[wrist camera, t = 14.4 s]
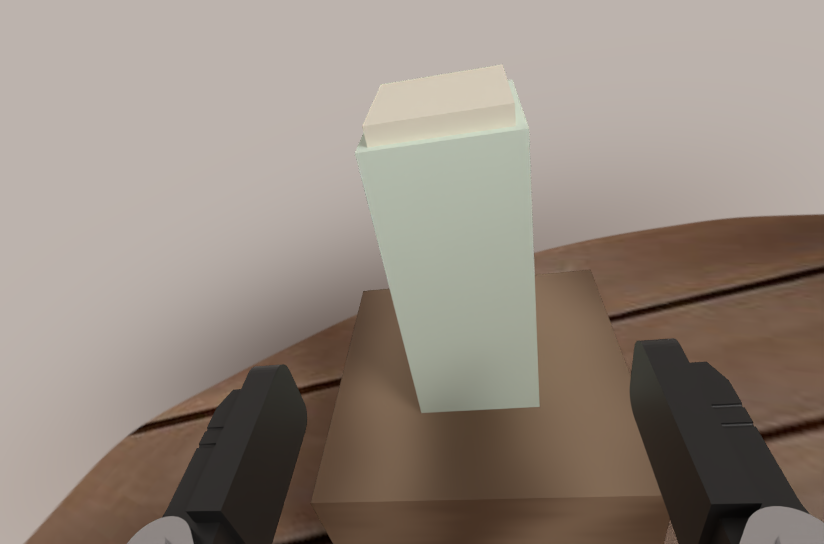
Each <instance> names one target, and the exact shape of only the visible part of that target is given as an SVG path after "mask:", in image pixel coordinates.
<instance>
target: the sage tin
mask: <svg viewBox="0 0 824 544" xmlns="http://www.w3.org/2000/svg"><path fill="white" fill-rule="evenodd" d="M362 127H363V132H364V133H363V136H362V138H361V140H360V143H359V145H358V147H357V150H356V152H355V155H356V160H357V163H358V167H359V171H360V175H361V179H362V183H363V187H364V191H365V195H366V198H367V202H368V206H369V210H370V214H371V218H372V222H373V226H374V229H375V233H376V238H377V242H378V245H379V249H380V253H381V257H382V261H383V265H384V269H385V272H386V276H387V281H388V284H389V288H390V292H391V296H392V300H393V304H394V308H395V312H396V316H397V320H398V324H399V327H400V331H401V335H402V339H403V343H404V347H405V351H406V355H407V359H408V363H409V366H410V370H411V374H412V378H413V382H414V386H415V390H416V394H417V398H418V402H419V405H420V409H421V413H431V412H450V411H470V410H489V409H508V408H527V407H540V405H539V379H538V352H537V325H536V298H535V272H534V246H533V221H532V220H533V219H532V194H531V193H532V192H531V165H530V139H529V127H528V124H527V121H526V118H525V115H524V112H523V109H522V106H521V104H520V100H519V98H518V95H517V92H516V89H515V86H514V83H513V80H507V77H506V74H505V70H504V67H503V65H502V64H501V65H495V66H489V67H483V68H477V69H471V70H465V71H460V72H453V73H447V74H441V75H436V76H429V77H423V78H417V79H411V80H405V81H399V82H392V83H387V84H381V85H380V88H379V90H378V92H377V94H376V97H375V99H374V101H373V103H372V105H371V108H370V110H369V112H368V114H367V117H366V119H365V121H364V123H363V126H362Z"/></svg>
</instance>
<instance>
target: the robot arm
mask: <svg viewBox="0 0 824 544" xmlns="http://www.w3.org/2000/svg"><path fill="white" fill-rule="evenodd" d="M630 402H631V407H632V412H633V415H634V418H635V421H636V424H637V427H638V430H639V432H640V435H641V438H642V441H643V444H644V447H645V449H646V452H647V455H648V458H649V461H650V463H651V466H652V469H653V472H654V475H655V478H656V480H657V483H658V486H659V489H660V492H661V495H662V497H663V500H664V503H665V506H666V509H667V512H668V514H669V517H670V520H671V523H672V526H673V529H674V531H675V534H676V537H677V540H678V543H679V544H824V523H823V522H822V521H820V520H819V519H817V518H815V517H813V516H812V515H810V514H809V513H808V511H807V510H806V509H805V508H804V507H803V505H802V504H801V502H800V501H799V499H798V498H797V496H796V495H795V493H794V491H793V489H792V488H791V486H790V484H789V483H788V481H787V479H786V477H785V476H784V474H783V472H782V471H781V469H780V467H779V465H778V464H777V462H776V460H775V459H774V457H773V455H772V454H771V452H770V450H769V448H768V447H767V445H766V443H765V442H764V440H763V438H762V436H761V435H760V433H759V431H758V430H757V428H756V427H754V426H753V421H752V419H751V418H750V416H749V414H748V413H747V411H746V409H745V408H743V407H742V402H741V401H740V399H739V397H738V395H737V394H736V392H735V390H734V389H733V387H732V385H731V383H730V382H729V380H728V379H726V378H725V377H724V376H723V375H722V374H720V373H719V372H718V371H717V370H716V369H715V368H713V367H712V366H711V365H710V364H709V363H707V362H694V363H689V361H688V359H687V357H686V355H685V353H684V351H683V349H682V348H681V346H680V344H679V342H678V341H677V340H676V339H674V338H673V339H658V340H644V341H637V342H636V343H635V347H634V355H633V363H632V372H631V380H630ZM306 425H307V411H306V406H305V403H304V401H303V399H302V397H301V394H300V392H299V390H298V388H297V386H296V384H295V381H294V379H293V377H292V375H291V373H290V371H289V369H288V367H287V366H286V365H270V366H256V367H253V368H252V369H251V370H250V371H249V373H248V375H247V378H246V380H245V382H244V384H243V386H242V388H241V389H238V390H233V391H232V392H231V393H230V394H229V395H228V396H227V397H226V398H225V399H224V400H223V402H222V403H221V404H220V405H219V406H218V407H217V408H216V410H215V412H214V415H213V417H212V419H211V421H210V423H209V425H208V427H207V431H206V432H205V433H204V435H203V437H202V439H201V441H200V443H199V448H197V449H196V451H195V453H194V455H193V457H192V459H191V461H190V463H189V465H188V468H187V470H186V472H185V474H184V476H183V478H182V480H181V482H180V484H179V486H178V488H177V490H176V492H175V494H174V496H173V498H172V500H171V502H170V504H169V506H168V508H167V510H166V512H165V514H164V515H163V517H162V518H160V519H157V520H155V521H153V522H151V523H149V524H148V525H146V526H145V527H143V528H142V529H141V530H140V531H138V532H137V533H136V534H135V535H134V536H133V537H132V538H131V539H130V541H129V542H128V543H127V544H272V542H273V539H274V535H275V532H276V528H277V525H278V522H279V518H280V515H281V512H282V508H283V505H284V501H285V498H286V495H287V491H288V488H289V485H290V481H291V478H292V474H293V471H294V468H295V464H296V461H297V458H298V454H299V451H300V447H301V444H302V441H303V437H304V434H305V430H306Z"/></svg>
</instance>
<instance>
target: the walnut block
mask: <svg viewBox="0 0 824 544" xmlns="http://www.w3.org/2000/svg"><path fill="white" fill-rule="evenodd" d="M535 298H536V325H537V352H538V379H539V405H540V407H527V408H508V409H489V410H470V411H450V412H431V413H421V409H420V405H419V402H418V398H417V394H416V390H415V386H414V382H413V378H412V374H411V370H410V366H409V363H408V359H407V355H406V351H405V347H404V343H403V339H402V335H401V331H400V327H399V324H398V320H397V316H396V312H395V308H394V304H393V300H392V296H391V292H390V289H381V290H370V291H363V295H362V299H361V303H360V307H359V311H358V315H357V319H356V323H355V327H354V331H353V335H352V339H351V343H350V347H349V351H348V355H347V359H346V363H345V367H344V371H343V375H342V379H341V383H340V387H339V391H338V395H337V399H336V403H335V407H334V411H333V415H332V419H331V423H330V427H329V431H328V435H327V439H326V443H325V447H324V451H323V455H322V459H321V463H320V467H319V471H318V475H317V479H316V483H315V487H314V491H313V495H312V499H311V505H312V507H313V508H314V510H315V512H316V514H317V516H318V517H319V519H320V521H321V523H322V525H323V526H324V528H325V530H326V532H327V534H328V535H329V537H330V539H331V541H332V543H333V544H664V541H665V537H666V533H667V529H668V525H669V521H670V517H669V514H668V512H667V509H666V506H665V503H664V500H663V497H662V495H661V492H660V489H659V486H658V483H657V480H656V478H655V475H654V472H653V469H652V466H651V463H650V461H649V458H648V455H647V452H646V449H645V447H644V444H643V441H642V438H641V435H640V432H639V430H638V427H637V424H636V421H635V418H634V415H633V412H632V407H631V402H630V380H631V375H630V372H629V370H628V367H627V365H626V362H625V359H624V357H623V354H622V351H621V349H620V346H619V343H618V341H617V338H616V335H615V333H614V330H613V328H612V325H611V322H610V320H609V317H608V314H607V312H606V309H605V306H604V304H603V301H602V298H601V296H600V293H599V291H598V288H597V285H596V283H595V280H594V277H593V275H592V272H591V270H582V271H571V272H560V273H550V274H539V275H535Z"/></svg>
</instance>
